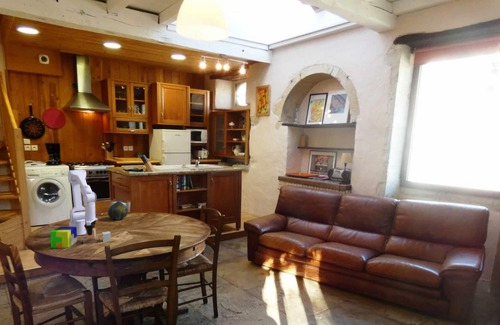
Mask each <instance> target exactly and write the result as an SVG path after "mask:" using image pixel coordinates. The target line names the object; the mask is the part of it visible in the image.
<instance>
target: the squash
mask: <svg viewBox="0 0 500 325" xmlns="http://www.w3.org/2000/svg"><path fill="white" fill-rule="evenodd" d="M128 213H129V210H128V208H127V206H126V205H125V204H124V203H123V202H122V201H121V200H117V201H116V202H114V203H112V204H111V205H110V206H109V208H108V211H107V214H108V217H109V219H111V220H116V221H119V220H123V219H124V218H126V217H127V216H128Z"/></svg>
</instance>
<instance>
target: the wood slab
mask: <svg viewBox="0 0 500 325" xmlns="http://www.w3.org/2000/svg"><path fill="white" fill-rule="evenodd" d="M98 240H99V235H97V234H96V236H95V238H89V239H87V235H85V237H84V238H83V240H82V242H83V245H85V243H87V244H96V243H97V242H98Z"/></svg>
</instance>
